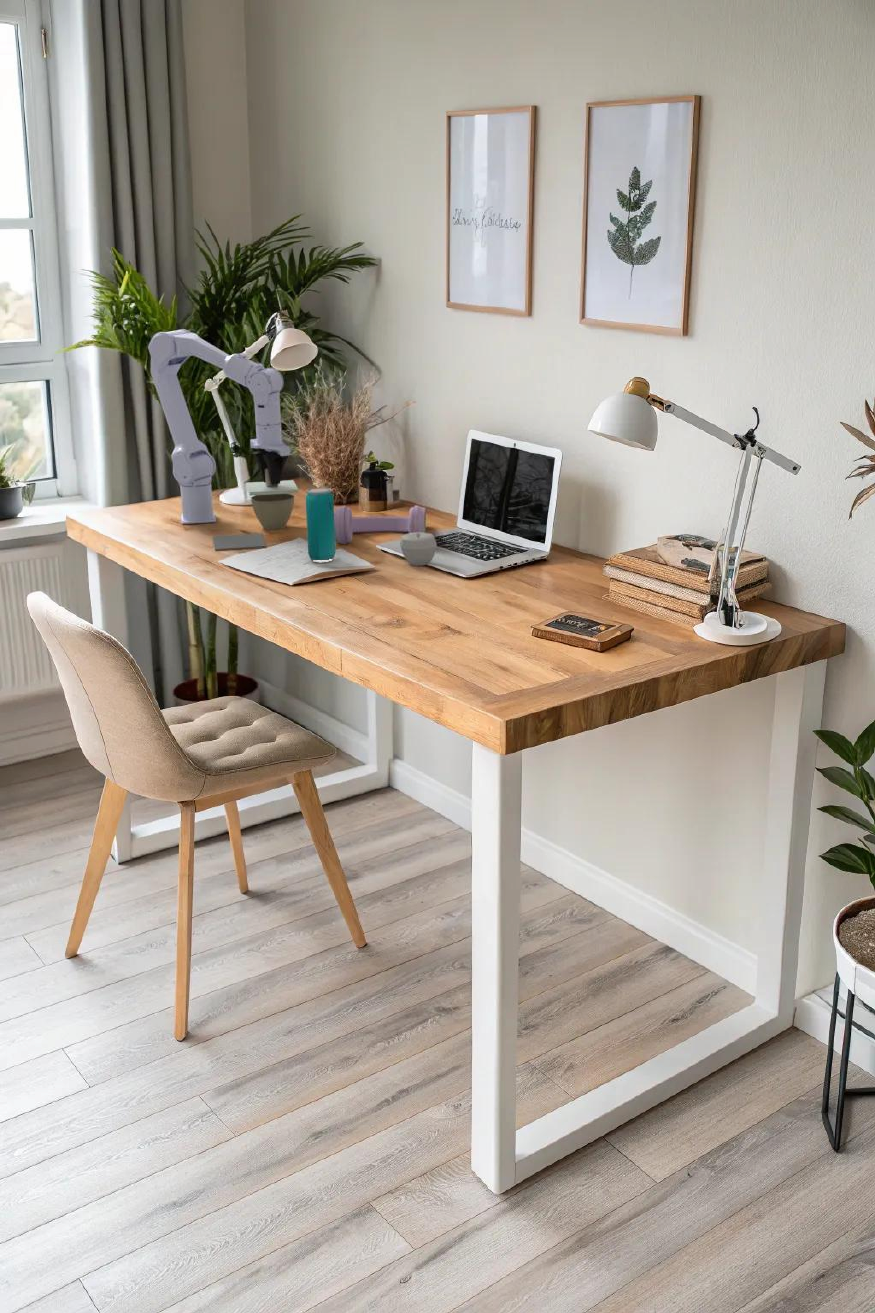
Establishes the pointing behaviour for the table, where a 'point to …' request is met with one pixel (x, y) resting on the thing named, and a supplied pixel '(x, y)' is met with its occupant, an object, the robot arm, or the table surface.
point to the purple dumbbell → (376, 523)
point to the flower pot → (273, 509)
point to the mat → (239, 542)
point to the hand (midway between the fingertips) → (271, 482)
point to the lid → (271, 487)
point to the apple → (418, 548)
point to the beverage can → (320, 523)
